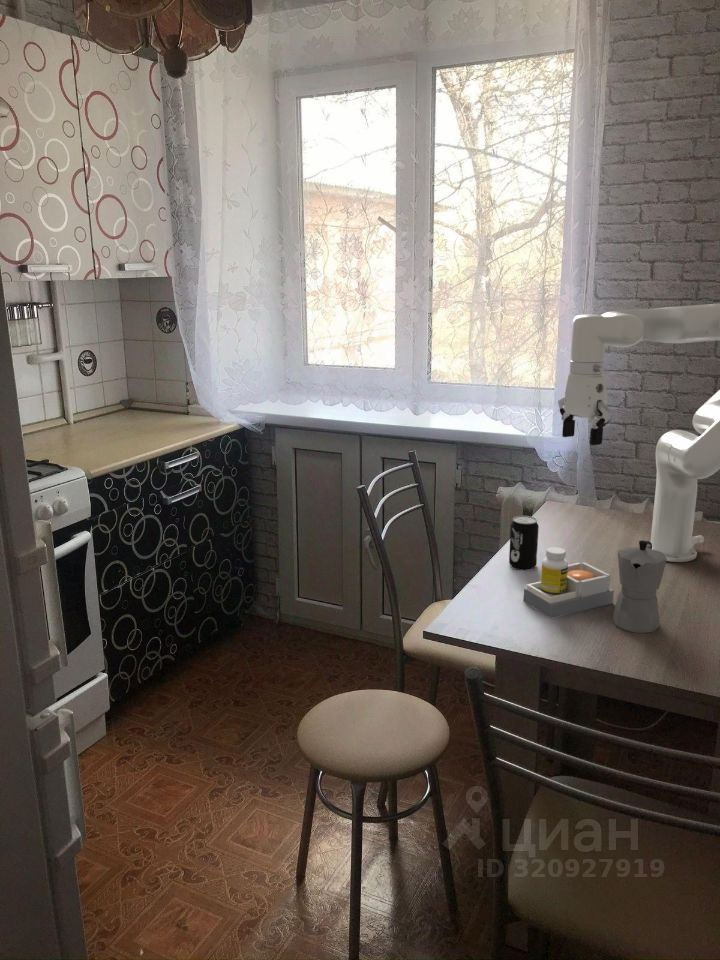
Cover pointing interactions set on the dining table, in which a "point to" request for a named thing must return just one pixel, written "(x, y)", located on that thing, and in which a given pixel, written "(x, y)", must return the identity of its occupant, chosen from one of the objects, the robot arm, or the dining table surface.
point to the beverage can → (523, 542)
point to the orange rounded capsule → (580, 575)
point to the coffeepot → (639, 588)
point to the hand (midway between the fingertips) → (581, 440)
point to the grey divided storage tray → (572, 593)
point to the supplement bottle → (554, 572)
